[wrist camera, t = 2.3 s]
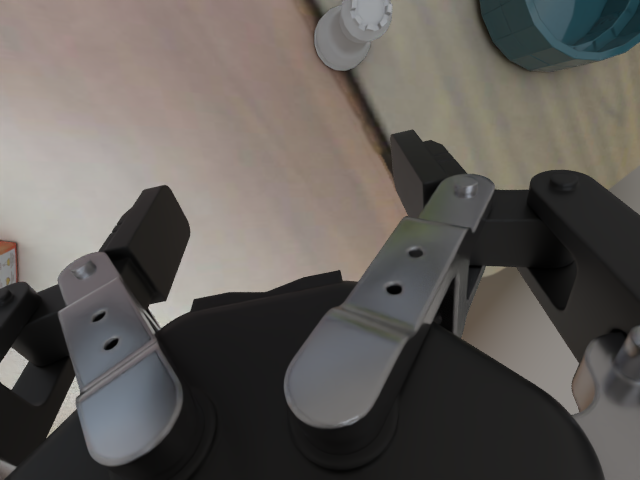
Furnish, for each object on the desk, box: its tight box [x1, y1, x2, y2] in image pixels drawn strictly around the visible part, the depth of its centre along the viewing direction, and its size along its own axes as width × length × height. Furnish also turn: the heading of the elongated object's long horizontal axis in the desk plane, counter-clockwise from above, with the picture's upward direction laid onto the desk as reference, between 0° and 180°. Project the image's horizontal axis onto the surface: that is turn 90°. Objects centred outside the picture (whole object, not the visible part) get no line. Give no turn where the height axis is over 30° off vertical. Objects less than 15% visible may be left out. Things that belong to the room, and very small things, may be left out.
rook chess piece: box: [314, 0, 392, 71], centre depth 25 cm, size 4×4×8 cm
